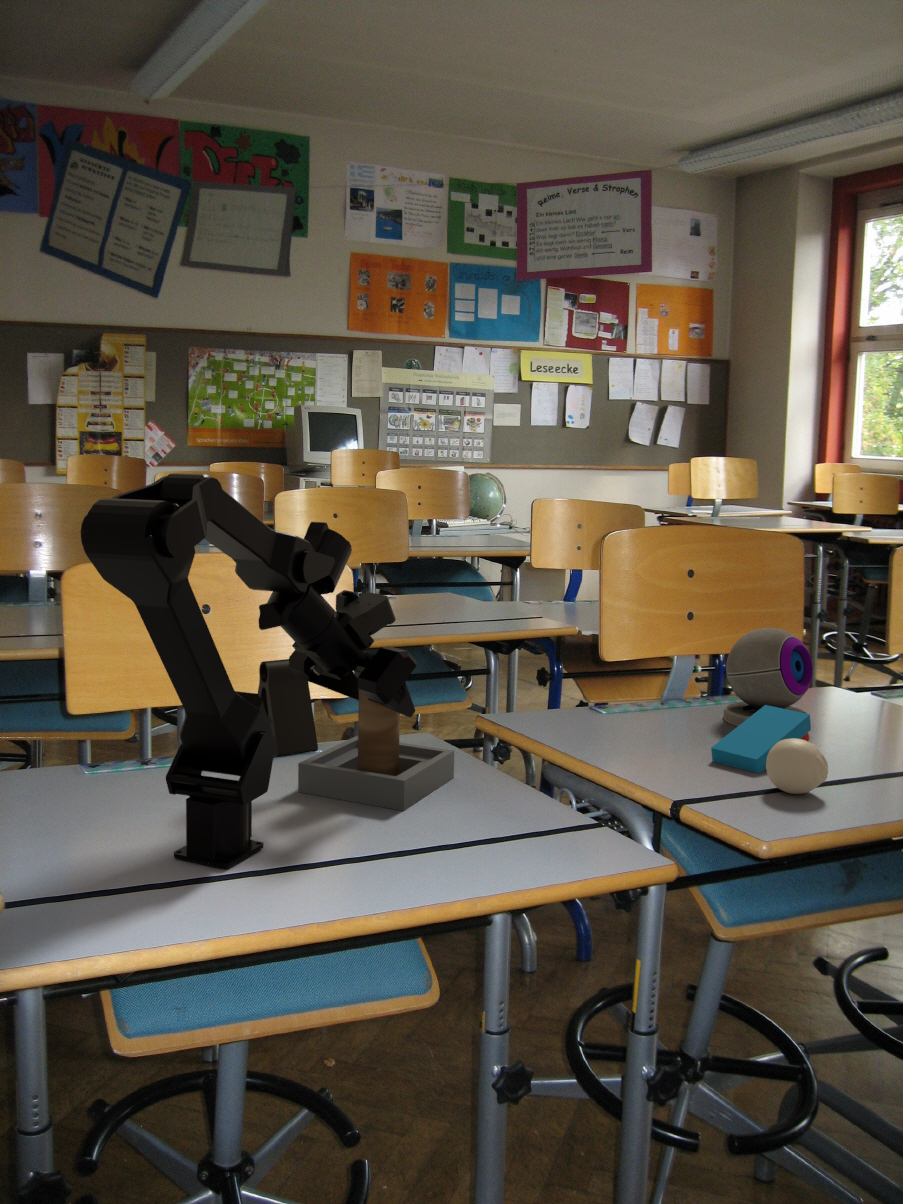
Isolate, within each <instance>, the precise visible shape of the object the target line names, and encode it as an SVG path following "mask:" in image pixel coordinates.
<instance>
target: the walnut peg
mask: <svg viewBox="0 0 903 1204" xmlns="http://www.w3.org/2000/svg"><path fill="white" fill-rule="evenodd" d="M360 674H361V673H359V672H358V676H359V675H360ZM368 699H369V698H368V697H366V696H365V695H363V694H362V693H361V691H360V690H359V701H358V711H357V712H358V715H357V716H358V719H357V721H358V723H357V724H358V725H357V726H358V728H357V729H358V731H357V734H358V735H357V736H358V770H360V771H366V772H372V773H378V774H384V775H391V776H398V775H399V742H400V732H401V731H400V730H401V729H400V728H401V727H400V726H401V721H400V720H401V714H400V713H398V712H395V711H393V710H391V709H388V708H386V707H383V706H381V705H378V704H376V703H374V702H371V701H369V700H368Z"/></svg>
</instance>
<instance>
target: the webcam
mask: <svg viewBox="0 0 903 1204" xmlns="http://www.w3.org/2000/svg"><path fill="white" fill-rule="evenodd" d="M725 669H726V670H725V671H726V677H727V682H728V684H729V686H730V689H731V690H732V691H733V692H734V694H735V696H736V697H738V699H740V701H738V702H733V703H729V704H727V705H726V706H724V710H723V720H724V721H725V722H728V723H729V724H731V725H734V726H736V727H738V726H739V725H740V724H742V723H743V722H744V721H745V720H747V719H748V718H749V717H751V716H752V715H753V714H754V713H756V712H757V711H758V710H759V709H761V708H762V707H763V706H765V705H768V706H773V707H778V708H782V709H787V710H792V711H797V712H801V713H806V714H808V712H807V711H805V710H803V709H801V708H798V707H795V706H792V705H794V704H796V703H797V702H798V701H800V700H801V699H802V697H803V696H804V695H805V694H806V692H808V690H809V688H810V686H811V683H812V681H813V673H814V672H813V671H814V670H813V669H814V667H813V661H812V657H811V654H810V652H809V650H808V648H807V646H806V645H805V644H804V643H803V641H802V640H800V639H799V638H798V637H796V636H795V635H794V634H792V633H791V632H789V631H787V630H784V629H780V628H777V627H776V628H775V627H762V628H757V629H753V630H752V631H749V632H747V633H746V634H745V635H742V637H739V639H738V640H737V641H736V642H735V643H734V645H733V646H732V648H731V649H730V651H729V653H728V656H727V660H726V666H725Z"/></svg>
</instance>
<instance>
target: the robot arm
mask: <svg viewBox="0 0 903 1204" xmlns="http://www.w3.org/2000/svg"><path fill="white" fill-rule="evenodd" d="M203 540H205V541H206V542H208V543H209V544H211V545H212V546H213V547H215V548H217V550H219V551H221V552H222V553H223V554H225V555H226V556H228V557H229V558H231V559H232V561H234V563H235V568H234V573H235V575H236V576H238V578H239V579H240V580H241V581H242V582H243V583H244V584H245V586H247V588H248V589H250V590H253V591H262V592H271V593H270V596H269V598H268V600H267V602H266V603H262V604H259V605H258V609H259V617H258V628H259V630H261V631H264V630H269V629H273V628H278V627H280V628H281V629H282V630H283V631H284V632H285V633H286V634H287V635H288V636H289V637H290V638H291V639H292V640H293V641H294V643H293V644H292V645H291V646H292V648H293V649H294V651H293V652H292V653H291V655H290V656H289V657H288V659H289V668H290V669H291V670H292V671H293V672H294V673H295V674H296V675H297V676H298V677H300V678H304V679H306V680H307V681H308V683H312V684H315V685H316V686H319V687H322V688H325V689H326V690H330V691H332V692H335V693H337V694H340V695H343V696H345V697H348V698H350V699H353V700H355V701H358V702H359V690H360V691H361V693H362V694H363V695H365V696H366V697H368V698H369V699H368V700H369V701H371V702H374V703H376V704H378V705H381V706H383V707H386V708H388V709H391V710H393V711H395V712H398V713H400V715H403V716H405V717H407V718H412V717H413V716H414V714H415V712H416V708H415V705H414V702H413V700H412V696H411V694H410V691H409V688H408V683H407V680H408V678H409V677H410V676H411V674H413V672H414V670H415V669H416V667H417V665H418V663H417V659H415V658H414V656H413V655H412V654H411V652H409V650H405V649H402V648H397V647H393V646H390V645H389V646H383V647H382V646H381V647H379V649H378V650H377V652H376V653H375V654H374V653H368V652H366V651H365V650H366V649H367V650H368V649H370V647H371V646H372V645H373V643H375V639H374V638H373V637H372V636H373V635H375V634H376V633H377V632H379V631H381V630H382V629H384V628H385V627H387V626H388V625H393V624H394V623H395V622H396V620H397V619H396V616H395V614H394V611H393V608H392V605H391V602H390V600H389V599H390V598H389V596H388V595H385V594H379V593H373V592H366V593H363V592H359V593H358V594H356V592H354V591H351V590H347V589H346V590H345V589H343V590H342V591H340V592H339V593H337V594H335V595H336V596H335V609H334V607H332V606H331V605H330V603H329V602H328V600H326V599H325V597H324V596H323V595H328V594H333V593H334V592H335V590H336V588H337V586H338V583H339V581H340V579H341V576H342V574H343V572H344V570H345V568H346V566H347V563H348V561H349V559H350V557H351V555H352V550H353V549H352V544H351V543H350V541H349V540H347V539H346V538H345V537H344V536H343V535H342V534H341V533H339V532H337V531H336V530H333V529H331V528H330V527H329V526H328V523H327V522H325V521H324V522H322V521H321V522H320V521H310V524H309V525H308V527H307V529H306V533H305V536H304V537H300V536H298V535H296V534H291V533H288V532H283V531H278V530H275V529H272V528H271V527H269V526H268V525H267V524H265V523H264V522H263V521H262V519H261V520H260V519H259V518H258V517H257V516H256V515H254V513H252V512H251V511H250V510H249V509H247V508H246V507H245V506H244V505H242V504H241V503H240V502H239V501H238V500H236V498H235V497H233V496H232V495H231V494H229V492H227V491H226V490H224V489H223V488H222V483H221V482H220V481H219V480H218V478H216V477H213V476H211V475H209V474H205V473H204V474H203V473H175V472H174V473H169V474H168V475H165V476H162V477H160V478H159V479H156V481H154V482H153V483H151V484H147V485H145V486H141V487H138V488H136V489H132V490H129V491H126V492H122V493H119V494H117V495H115V496H113V497H111V498H108V497H106V498H101V499H99V500H97V501H96V502H95V503H94V504H92V506H91V508H90V509H89V511H88V513H87V514H86V515H85V516H84V517H83V520H82V522H81V527H80V542H81V546H82V548H83V552H84V554H85V555H86V557H87V558H88V560H89V561H90V563H91V565H93V567H94V568H95V570H96V571H97V572H98V574H99V575H100V577H101V578H102V579H103V580H104V581H105V582H106V583H107V584H109V585H110V586H112V587H113V588H114V589H116V590H117V591H119V592H120V593H122V594H123V595H124V596H126V597H127V598H128V599H130V600H131V601H132V603H133V605H134V606H135V607H136V610H137V611H138V614H139V616H140V618H141V620H142V622H143V625H144V627H145V629H146V631H147V633H148V634H149V637H150V640H151V641H152V644H153V646H154V648H155V650H156V652H157V654H158V657H159V658H160V660H161V663H162V665H163V667H164V670H165V671H166V673H167V675H168V677H169V680H170V682H171V684H172V686H173V689H174V690H175V692H176V694H177V696H178V699H179V701H180V703H181V705H182V707H183V710H184V713H185V717H184V720H183V722H182V725H181V729H180V732H179V734H178V735H179V738H180V741H181V744H180V745H179V747H178V749H177V751H176V753H175V755H174V758H173V760H172V762H171V765H170V766H169V768H168V771H167V773H166V774H165V781H166V785H167V789H168V793H169V794H170V795H173V796H176V795H180V796H181V795H182V796H186V797H187V796H188V797H187V798H186V799H185V821H186V822H185V831H186V833H185V836H186V837H185V839H186V842H185V843H186V844H185V845H184V846H183V847H180V848H178V849H176V850H174V851H173V858H175V859H178V860H184V861H188V862H194V863H197V864H201V865H202V864H203V865H207V866H211V867H216V868H220V869H228V868H230V867H232V866H234V865H236V864H238V863H240V862H241V861H242V860H244V859H246V858H249V857H250V856H252V855H253V854H255V853H257V852H259V851H260V850H262V849H263V848H264V842H262V841H259V840H254V839H251V838H252V835H253V832H252V828H253V827H252V825H253V822H252V821H253V820H252V814H253V813H252V810H253V804H252V803H253V802H252V801H254V800H256V799H258V798H260V797H261V796H262V795H264V794H266V793H268V790H269V786H270V785H269V784H270V779H271V774H272V768H273V762H274V757H275V755H274V752H275V740H274V737H273V735H272V731H271V728H270V726H269V725H268V724H270V723H271V722H272V720H271V719H270V718H269V717H268V716H267V714H266V711H265V708H264V704H263V700H262V699H261V698H260V696H259V695H258V693H254V692H245V691H238V690H237V691H236V690H235V689H234V686H233V683H232V682H231V679H230V676H229V674H228V672H227V670H226V667H225V664H224V663H223V660H222V658H221V655H220V653H219V650H218V648H217V646H216V643H215V641H214V639H213V637H212V634H211V631H210V629H209V627H208V624H207V622H206V620H205V617H204V614H203V612H202V610H201V607H200V605H199V603H198V601H197V598H196V596H195V593H194V591H193V589H192V586H191V584H190V581H189V575H190V571H191V569H192V564H193V563H194V559H195V555H196V548H195V547H196V546H197V545H198V544H199V543H201V542H202V541H203ZM355 672H357V673H358V677H357V675H356V674H355ZM359 673H361V674H360V675H359ZM202 772H208V773H217V774H222V775H223V774H224V775H230V776H238V777H239V779H238V780H235V779H230V778H223V777H222V778H221V777H215V776H209V775H202Z"/></svg>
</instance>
